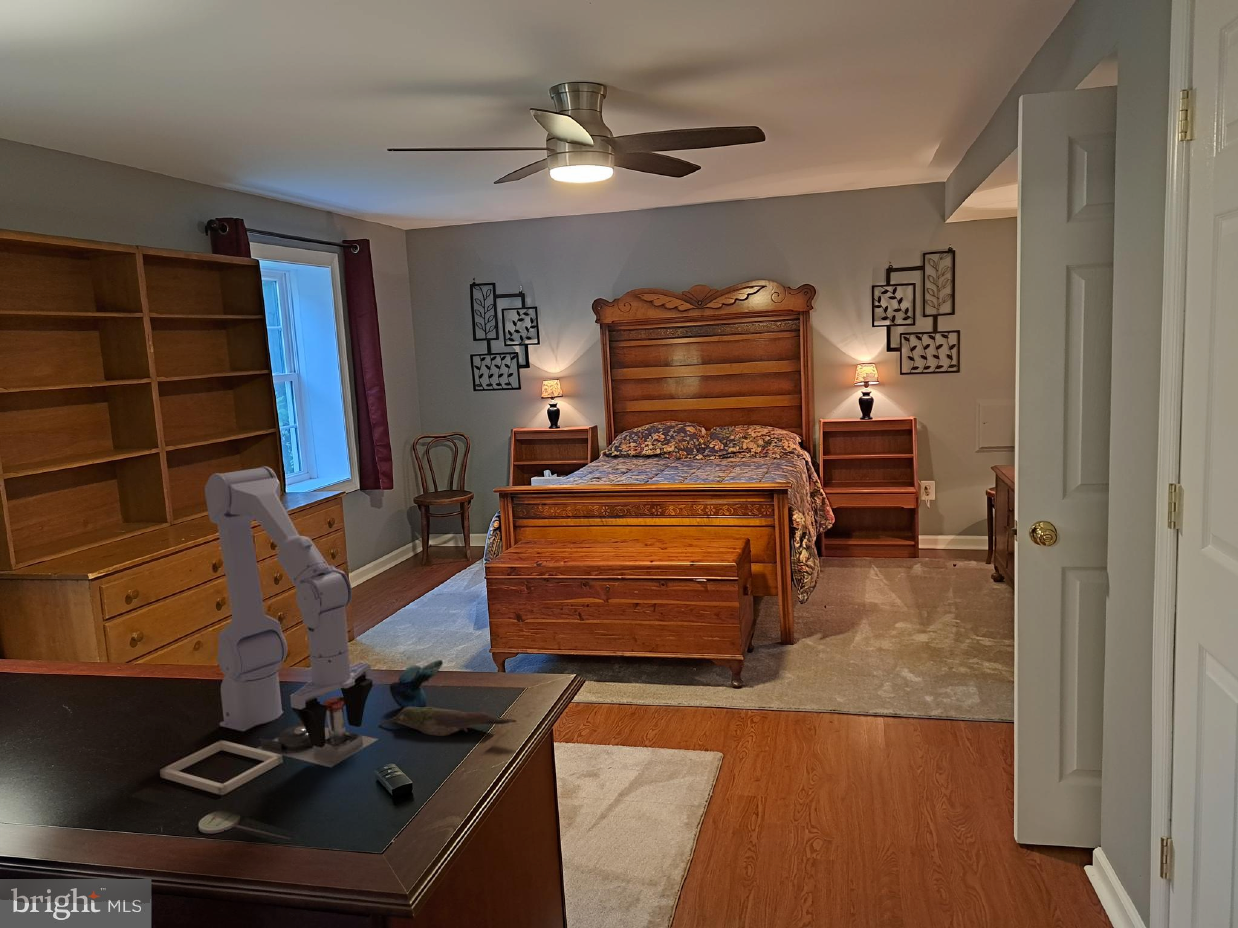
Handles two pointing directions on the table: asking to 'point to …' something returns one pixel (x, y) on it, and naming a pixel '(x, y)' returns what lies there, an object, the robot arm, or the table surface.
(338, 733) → the pin
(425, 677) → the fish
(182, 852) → the table surface
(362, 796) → the table surface
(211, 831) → the sign
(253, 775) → the tray
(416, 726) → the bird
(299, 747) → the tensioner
